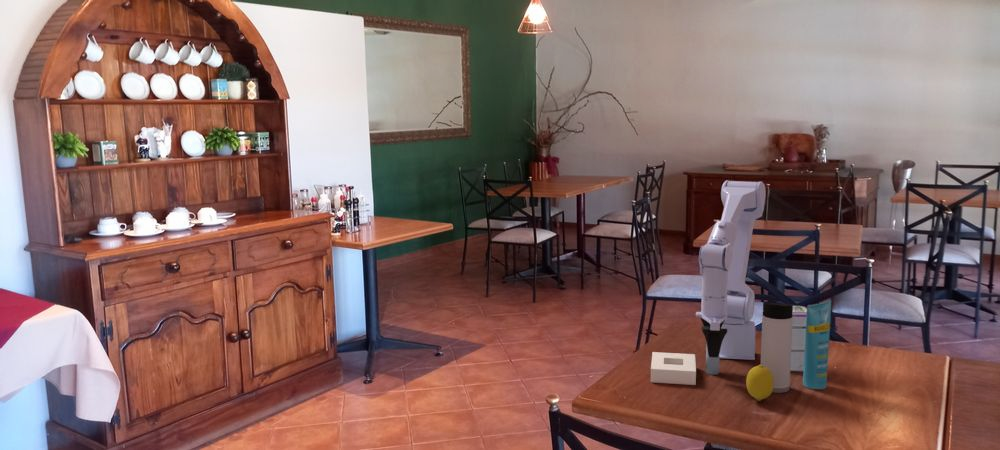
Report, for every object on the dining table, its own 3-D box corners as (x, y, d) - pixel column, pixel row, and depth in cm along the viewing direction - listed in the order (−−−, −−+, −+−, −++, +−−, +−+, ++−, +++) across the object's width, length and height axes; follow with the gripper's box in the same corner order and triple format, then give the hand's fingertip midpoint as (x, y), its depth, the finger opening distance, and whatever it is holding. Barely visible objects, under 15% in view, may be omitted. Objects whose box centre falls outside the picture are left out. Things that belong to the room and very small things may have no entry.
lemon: (776, 405, 160) (778, 369, 159) (750, 406, 160) (751, 369, 159) (768, 395, 166) (769, 360, 165) (742, 396, 166) (743, 360, 165)
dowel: (718, 370, 182) (719, 342, 181) (719, 375, 179) (720, 346, 178) (705, 369, 182) (706, 341, 181) (705, 374, 179) (706, 345, 178)
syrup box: (809, 371, 180) (811, 312, 177) (782, 370, 181) (785, 311, 178) (803, 363, 185) (806, 305, 183) (778, 362, 186) (780, 304, 184)
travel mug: (757, 391, 168) (760, 303, 165) (762, 381, 174) (765, 296, 171) (787, 395, 166) (791, 306, 162) (791, 385, 171) (795, 298, 168)
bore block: (694, 367, 184) (694, 354, 184) (695, 385, 173) (696, 371, 172) (652, 364, 187) (652, 352, 186) (650, 382, 175) (650, 368, 175)
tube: (814, 392, 167) (818, 307, 164) (794, 386, 171) (798, 302, 168) (834, 385, 171) (838, 302, 168) (815, 379, 175) (819, 297, 172)
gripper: (695, 287, 185) (694, 341, 188) (697, 302, 171) (695, 360, 174) (726, 288, 184) (724, 342, 186) (730, 303, 170) (728, 362, 172)
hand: (712, 351), depth 180 cm, fingers open, 7 cm apart
